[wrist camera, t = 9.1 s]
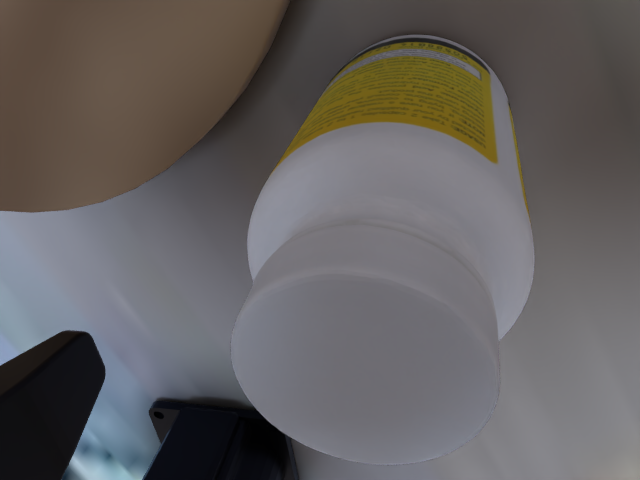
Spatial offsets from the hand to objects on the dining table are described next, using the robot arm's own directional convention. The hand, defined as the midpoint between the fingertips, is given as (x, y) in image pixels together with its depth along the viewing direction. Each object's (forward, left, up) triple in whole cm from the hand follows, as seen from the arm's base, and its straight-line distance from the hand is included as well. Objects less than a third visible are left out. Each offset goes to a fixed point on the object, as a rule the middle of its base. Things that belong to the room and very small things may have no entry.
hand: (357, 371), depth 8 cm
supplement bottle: (0, 0, -10) cm, 10 cm away
